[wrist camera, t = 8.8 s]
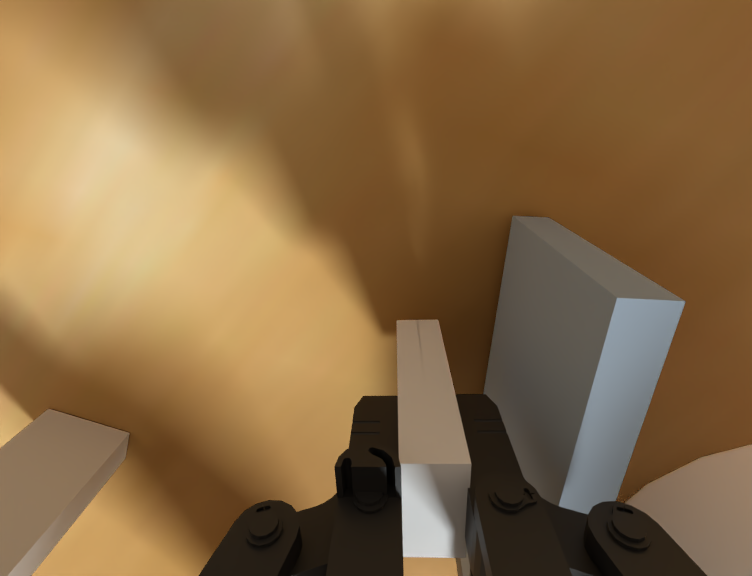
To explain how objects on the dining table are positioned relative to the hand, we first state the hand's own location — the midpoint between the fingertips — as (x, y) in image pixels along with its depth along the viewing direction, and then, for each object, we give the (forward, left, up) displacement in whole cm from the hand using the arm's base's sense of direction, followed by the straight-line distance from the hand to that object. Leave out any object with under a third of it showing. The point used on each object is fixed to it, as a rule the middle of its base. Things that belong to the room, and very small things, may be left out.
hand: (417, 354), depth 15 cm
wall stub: (-12, -10, -1) cm, 16 cm away
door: (+5, -2, -1) cm, 6 cm away
